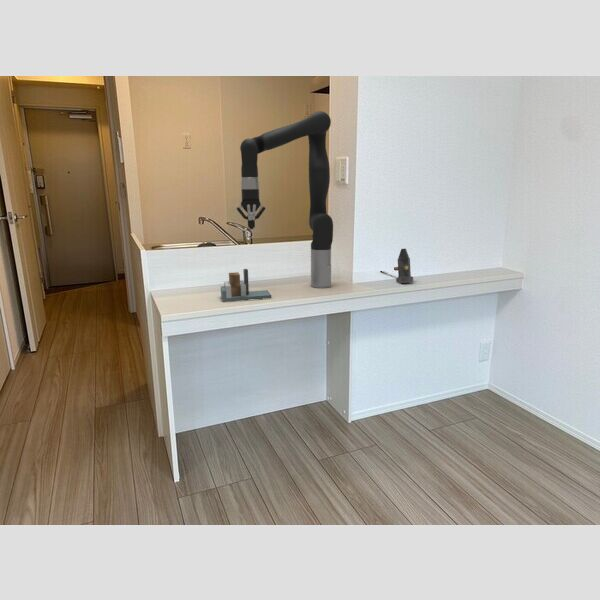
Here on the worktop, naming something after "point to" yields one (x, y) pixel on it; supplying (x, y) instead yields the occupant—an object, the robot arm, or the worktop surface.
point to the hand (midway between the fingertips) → (251, 228)
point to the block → (235, 284)
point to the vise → (252, 295)
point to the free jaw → (244, 284)
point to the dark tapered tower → (403, 268)
